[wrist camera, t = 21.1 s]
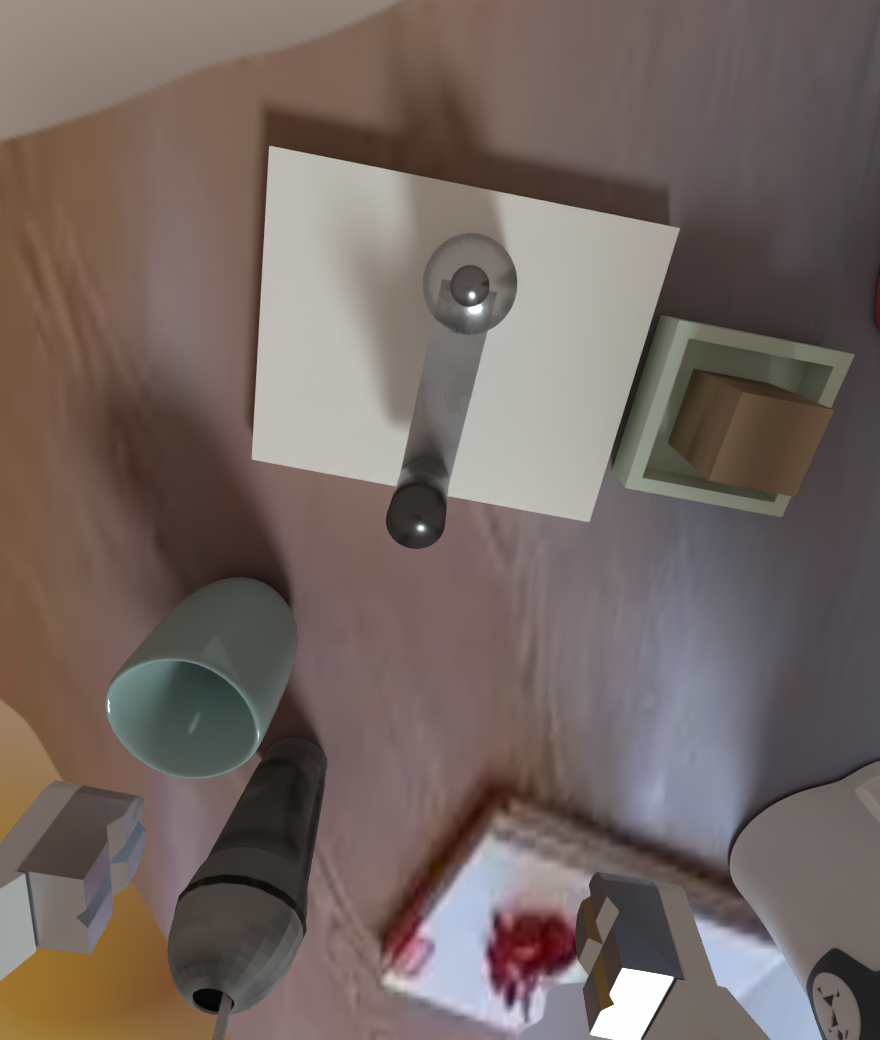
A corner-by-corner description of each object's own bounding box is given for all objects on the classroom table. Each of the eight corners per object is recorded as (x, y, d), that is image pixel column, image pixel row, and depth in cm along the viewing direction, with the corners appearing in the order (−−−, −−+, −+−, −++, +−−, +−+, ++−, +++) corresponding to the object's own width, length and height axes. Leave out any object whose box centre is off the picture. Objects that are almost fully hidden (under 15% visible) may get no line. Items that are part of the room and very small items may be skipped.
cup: (331, 640, 39) (289, 755, 30) (231, 676, 41) (162, 796, 32) (272, 541, 37) (205, 634, 27) (167, 583, 38) (71, 685, 29)
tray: (820, 346, 31) (854, 354, 28) (756, 496, 34) (782, 517, 31) (660, 314, 30) (679, 320, 28) (612, 469, 34) (624, 487, 31)
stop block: (769, 383, 31) (834, 409, 25) (740, 457, 32) (795, 496, 27) (693, 368, 31) (742, 392, 25) (667, 443, 32) (708, 480, 27)
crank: (438, 226, 28) (425, 213, 20) (522, 247, 28) (542, 243, 20) (388, 471, 32) (361, 536, 25) (459, 488, 33) (456, 558, 25)
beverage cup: (250, 712, 42) (79, 1063, 24) (352, 731, 42) (262, 1093, 24) (243, 788, 45) (87, 1151, 27) (339, 805, 45) (249, 1177, 27)
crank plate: (669, 229, 29) (680, 227, 27) (584, 511, 35) (589, 522, 33) (279, 151, 28) (268, 145, 27) (260, 451, 34) (251, 460, 33)
